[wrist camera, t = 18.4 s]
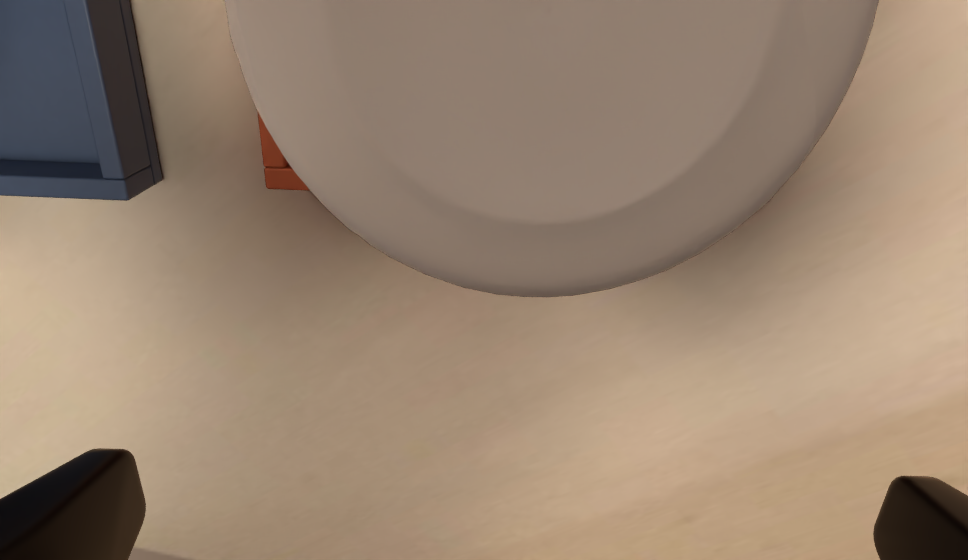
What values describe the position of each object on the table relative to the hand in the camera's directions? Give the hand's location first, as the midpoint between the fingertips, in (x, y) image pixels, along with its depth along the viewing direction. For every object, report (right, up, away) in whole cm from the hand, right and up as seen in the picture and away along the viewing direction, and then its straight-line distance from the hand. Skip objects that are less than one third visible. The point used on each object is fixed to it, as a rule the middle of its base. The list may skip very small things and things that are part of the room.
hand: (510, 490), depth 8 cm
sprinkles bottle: (0, +10, +9) cm, 13 cm away
